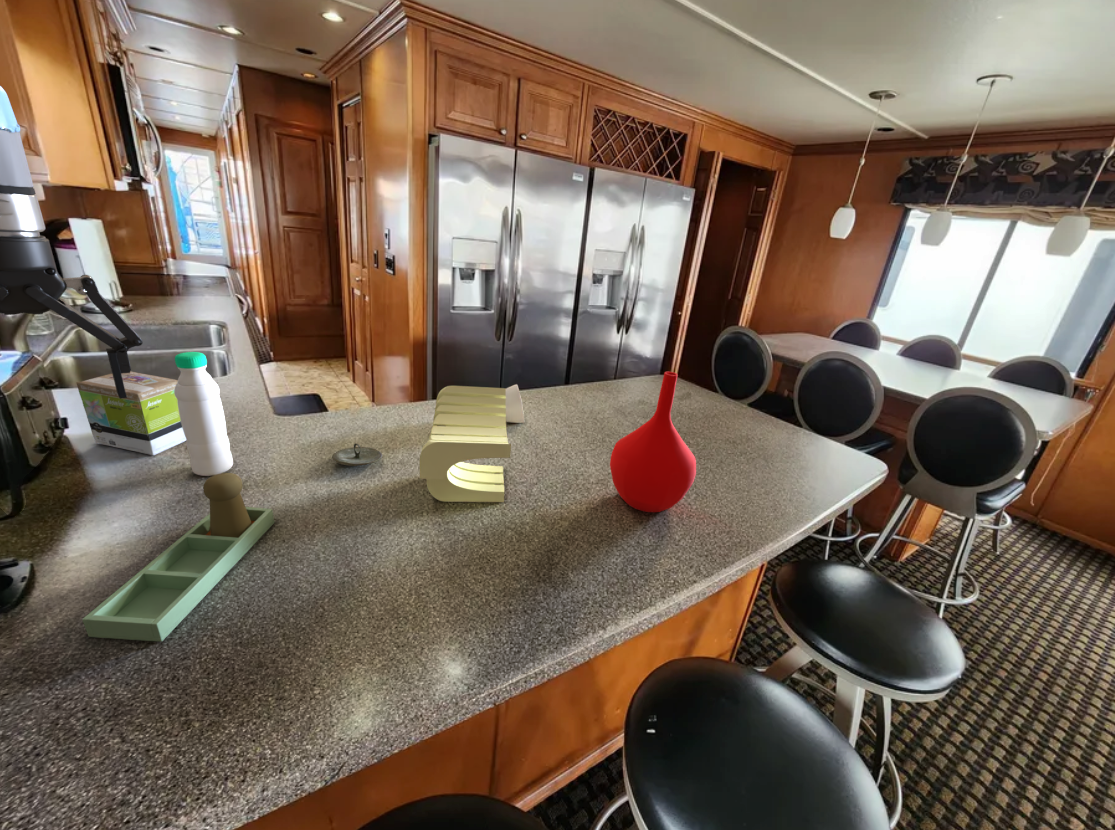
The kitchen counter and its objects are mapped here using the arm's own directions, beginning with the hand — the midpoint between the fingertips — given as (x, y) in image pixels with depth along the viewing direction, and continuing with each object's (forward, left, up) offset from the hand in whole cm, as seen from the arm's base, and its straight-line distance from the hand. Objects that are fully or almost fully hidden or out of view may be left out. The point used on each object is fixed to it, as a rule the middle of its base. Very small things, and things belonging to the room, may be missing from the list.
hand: (52, 403), depth 60 cm
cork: (+14, +8, -26) cm, 30 cm away
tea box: (-24, +38, -26) cm, 52 cm away
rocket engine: (+51, +69, -26) cm, 89 cm away
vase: (+90, +31, -26) cm, 99 cm away
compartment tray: (+14, 0, -26) cm, 30 cm away
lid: (+24, +37, -26) cm, 51 cm away
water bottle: (-3, +29, -26) cm, 39 cm away
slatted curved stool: (+50, +31, -26) cm, 64 cm away
